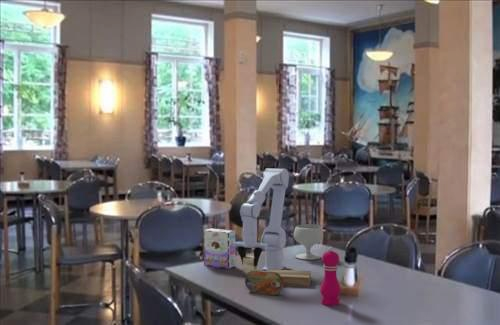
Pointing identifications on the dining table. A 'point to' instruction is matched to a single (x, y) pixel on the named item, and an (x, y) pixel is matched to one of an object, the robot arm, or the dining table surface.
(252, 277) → the tin
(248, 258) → the birch cube
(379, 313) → the dining table surface
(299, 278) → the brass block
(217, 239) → the candy box
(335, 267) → the pepper mill
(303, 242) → the chalice
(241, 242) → the robot arm
